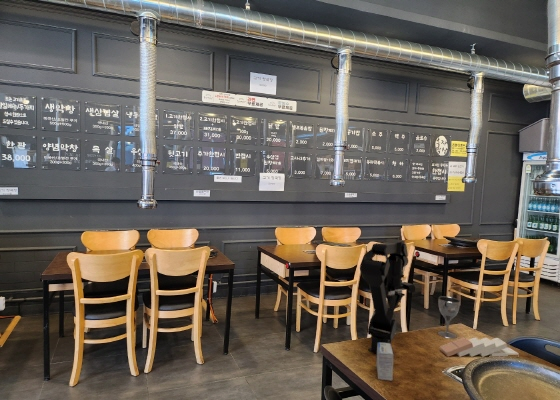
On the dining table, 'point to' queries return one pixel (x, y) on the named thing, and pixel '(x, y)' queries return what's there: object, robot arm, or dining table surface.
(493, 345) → the domino
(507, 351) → the domino
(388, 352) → the medicine box
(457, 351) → the domino
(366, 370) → the dining table surface
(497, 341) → the domino
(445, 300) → the wine glass
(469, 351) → the domino
